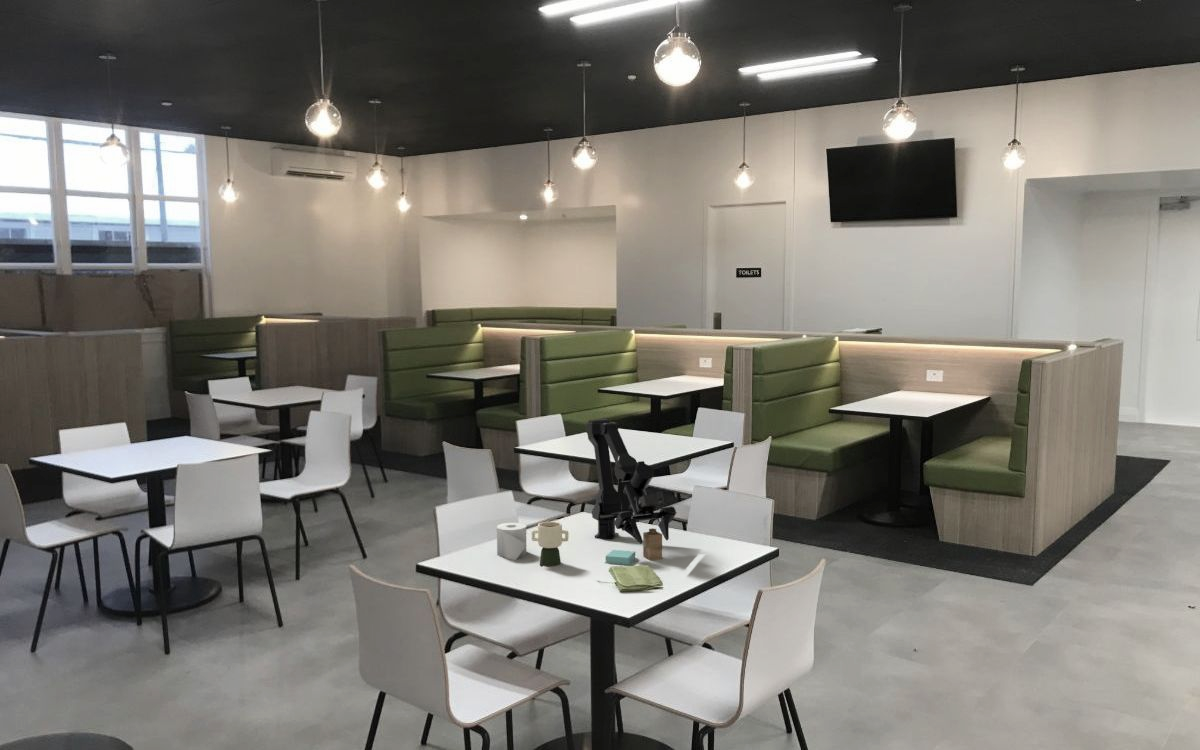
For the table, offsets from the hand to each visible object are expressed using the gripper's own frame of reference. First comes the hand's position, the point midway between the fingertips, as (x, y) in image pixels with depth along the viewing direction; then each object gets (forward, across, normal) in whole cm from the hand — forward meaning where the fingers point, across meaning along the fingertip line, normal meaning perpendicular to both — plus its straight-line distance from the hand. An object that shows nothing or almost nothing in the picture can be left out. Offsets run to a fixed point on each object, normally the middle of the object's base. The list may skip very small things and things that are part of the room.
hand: (654, 541), depth 272 cm
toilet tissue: (-15, -35, +24) cm, 45 cm away
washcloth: (+15, -13, -4) cm, 20 cm away
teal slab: (+2, -10, +6) cm, 12 cm away
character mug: (-2, -30, +12) cm, 32 cm away
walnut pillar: (+4, 0, +6) cm, 7 cm away
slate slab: (+3, -10, +7) cm, 13 cm away
